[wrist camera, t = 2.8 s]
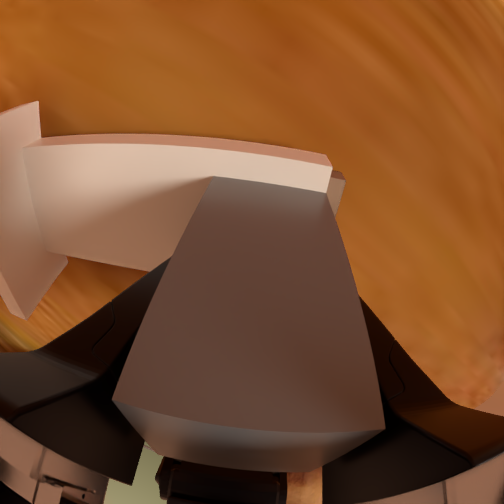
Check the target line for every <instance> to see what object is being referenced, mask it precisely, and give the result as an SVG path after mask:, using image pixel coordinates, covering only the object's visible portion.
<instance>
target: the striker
mask: <svg viewBox="0 0 504 504" xmlns="http://www.w3.org/2000/svg"><path fill="white" fill-rule="evenodd" d="M332 168H333V167H332V165H331V163H330V161H329V160H328V158H327V156H326V155H325V154H320V153H315V152H310V151H304V150H299V149H293V148H287V147H281V146H275V145H268V144H261V143H254V142H246V141H238V140H229V139H220V138H209V137H197V136H183V135H163V134H87V135H69V136H56V137H45V138H41V130H40V117H39V101H35V102H31V103H27V104H23V105H19V106H17V107H14V108H12V109H9V110H6V111H4V112H1V113H0V295H1V297H2V299H3V301H4V302H5V304H6V306H7V308H8V309H9V311H10V313H11V314H13V315H15V316H18V317H20V318H22V319H24V320H28V318H29V317H30V315H31V314H32V312H33V311H34V309H35V308H36V306H37V305H38V303H39V302H40V300H41V299H42V297H43V296H44V295H45V293H46V292H47V290H48V289H49V288H50V286H51V285H52V284H53V282H54V281H55V279H56V278H57V277H58V275H59V274H60V273H61V272H62V270H63V269H64V268H65V266H66V265H67V264H68V260H67V257H66V256H71V257H76V258H81V259H86V260H90V261H95V262H101V263H106V264H111V265H116V266H121V267H127V268H132V269H138V270H143V271H149V272H150V271H152V270H153V269H154V268H156V267H157V266H158V265H160V264H161V263H163V262H164V261H165V260H167V259H168V258H170V257H171V256H172V257H171V259H170V261H169V263H168V265H167V267H166V270H165V272H164V274H163V276H162V278H161V280H160V282H159V285H158V287H157V289H156V291H155V293H154V296H153V298H152V300H151V302H150V305H149V307H148V309H147V311H146V314H145V316H144V318H143V321H142V323H141V325H140V328H139V330H138V333H137V335H136V337H135V340H134V342H133V345H132V347H131V350H130V352H129V355H128V357H127V360H126V362H125V365H124V368H123V370H122V373H121V376H120V378H119V381H118V384H117V386H116V389H115V392H114V395H113V397H112V401H113V402H114V403H115V405H116V406H117V407H118V409H119V410H120V411H121V412H122V414H123V415H124V416H125V417H126V419H127V420H128V421H129V422H130V424H131V425H132V426H133V427H134V428H135V430H136V431H137V432H138V433H139V434H140V436H141V437H142V438H143V439H144V440H145V441H146V442H147V443H148V444H149V446H150V447H151V448H152V449H153V450H154V451H155V452H156V453H157V454H159V455H162V456H166V457H170V458H174V459H179V460H183V461H188V462H193V463H199V464H205V465H211V466H217V467H224V468H232V469H242V470H253V471H267V472H311V471H313V470H315V469H317V468H319V467H321V466H323V465H325V464H327V463H329V462H331V461H333V460H335V459H337V458H338V457H340V456H342V455H344V454H346V453H347V452H349V451H351V450H353V449H354V448H356V447H358V446H360V445H361V444H363V443H364V442H366V441H368V440H369V439H371V438H372V437H374V436H376V435H377V434H379V433H380V432H382V431H383V430H385V429H386V428H385V421H384V414H383V408H382V402H381V396H380V390H379V384H378V379H377V373H376V368H375V363H374V358H373V354H372V349H371V345H370V340H369V336H368V331H367V327H366V323H365V319H364V315H363V311H362V307H361V303H360V299H359V295H358V292H357V288H356V284H355V281H354V277H353V274H352V270H351V267H350V264H349V260H348V257H347V254H346V250H345V247H344V244H343V241H342V238H341V235H340V232H339V229H338V226H337V223H336V220H335V217H334V214H333V211H332V208H331V205H330V202H329V200H328V197H327V194H326V192H327V188H328V184H329V180H330V176H331V172H332Z"/></svg>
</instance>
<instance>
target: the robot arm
mask: <svg viewBox="0 0 504 504" xmlns="http://www.w3.org/2000/svg"><path fill="white" fill-rule="evenodd" d="M171 257H172V256H171ZM171 257H170V258H168V259H167V260H165V261H164V262H163V263H161V264H160V265H158V266H157V267H156V268H154V269H153V270H152V271H150V272H149V273H147V274H146V275H145V276H143V277H142V278H141V279H139V280H138V281H137V282H135V283H134V284H133V285H131V286H130V287H129V288H127V289H126V290H125V291H123V292H122V293H121V294H119V295H118V296H117V297H115V298H114V299H113V300H112V302H109V303H107V304H106V305H105V306H103V307H102V308H101V309H99V310H98V311H97V312H95V313H94V314H92V315H91V316H90V317H88V318H87V319H85V320H84V321H82V322H81V323H79V324H78V325H76V326H75V327H73V328H72V329H70V330H68V331H67V332H65V333H64V334H62V335H61V336H59V337H57V338H56V339H54V340H53V341H51V342H50V343H48V344H47V345H45V346H43V347H41V348H39V349H37V350H34V351H30V352H16V353H0V504H103V503H104V498H105V494H106V490H107V486H108V481H109V478H110V479H113V480H116V481H119V482H121V483H124V484H127V485H130V486H132V483H133V480H134V476H135V473H136V469H137V466H138V462H139V459H140V456H141V452H142V448H143V445H144V442H145V440H144V439H143V438H142V437H141V436H140V434H139V433H138V432H137V431H136V430H135V428H134V427H133V426H132V425H131V424H130V422H129V421H128V420H127V419H126V417H125V416H124V415H123V414H122V412H121V411H120V410H119V409H118V407H117V406H116V405H115V403H114V402H113V401H112V397H113V395H114V392H115V389H116V386H117V384H118V381H119V378H120V376H121V373H122V370H123V368H124V365H125V362H126V360H127V357H128V355H129V352H130V350H131V347H132V345H133V342H134V340H135V337H136V335H137V333H138V330H139V328H140V325H141V323H142V321H143V318H144V316H145V314H146V311H147V309H148V307H149V305H150V302H151V300H152V298H153V296H154V293H155V291H156V289H157V287H158V285H159V282H160V280H161V278H162V276H163V274H164V272H165V270H166V267H167V265H168V263H169V261H170V259H171ZM359 299H360V303H361V307H362V311H363V315H364V319H365V323H366V327H367V331H368V336H369V340H370V345H371V349H372V354H373V358H374V363H375V368H376V373H377V379H378V384H379V390H380V396H381V402H382V408H383V414H384V421H385V428H386V429H385V430H383V431H382V432H380V433H379V434H377V435H376V436H374V437H372V438H371V439H369V440H368V441H366V442H364V443H363V444H361V445H360V446H358V447H356V448H354V449H353V450H351V451H349V452H347V453H346V454H344V455H342V456H340V457H338V458H337V459H335V460H333V461H331V462H329V463H327V464H325V465H323V466H322V504H504V417H503V416H499V415H494V414H490V413H486V412H482V411H478V410H474V409H471V408H467V407H463V406H460V405H458V404H456V403H454V402H452V401H451V400H450V399H448V398H447V397H446V396H445V395H444V394H443V393H442V392H441V390H440V389H439V388H438V387H437V386H436V385H435V384H434V383H433V382H432V381H431V380H430V378H429V377H428V376H427V375H426V374H425V373H424V372H423V371H422V370H421V369H420V368H419V367H418V365H417V364H416V363H415V362H414V361H413V360H412V359H411V358H410V356H409V355H408V354H407V353H406V352H405V350H404V349H403V348H402V347H401V345H400V344H399V343H398V342H397V340H395V338H394V337H393V336H392V334H391V333H390V332H389V331H388V330H387V328H386V327H385V326H384V325H383V323H382V322H381V321H380V320H379V319H378V317H377V316H376V315H375V314H374V313H373V311H372V310H371V309H370V308H369V307H368V306H367V304H366V303H365V302H364V301H363V300H362V298H361V297H360V296H359ZM155 480H156V482H157V483H158V484H159V489H160V497H161V499H163V500H167V504H286V501H287V472H267V471H253V470H242V469H232V468H224V467H217V466H211V465H205V464H199V463H193V462H188V461H183V460H179V459H174V458H170V457H166V456H164V457H163V459H162V462H161V464H160V466H159V469H158V471H157V473H156V476H155Z"/></svg>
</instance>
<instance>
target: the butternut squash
mask: <svg viewBox="0 0 504 504" xmlns="http://www.w3.org/2000/svg"><path fill="white" fill-rule="evenodd" d="M286 504H322V466H321V467H319V468H317V469H315V470H313V471H311V472H287V501H286Z"/></svg>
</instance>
